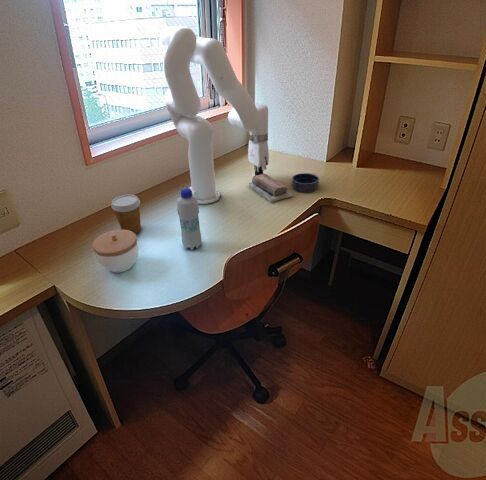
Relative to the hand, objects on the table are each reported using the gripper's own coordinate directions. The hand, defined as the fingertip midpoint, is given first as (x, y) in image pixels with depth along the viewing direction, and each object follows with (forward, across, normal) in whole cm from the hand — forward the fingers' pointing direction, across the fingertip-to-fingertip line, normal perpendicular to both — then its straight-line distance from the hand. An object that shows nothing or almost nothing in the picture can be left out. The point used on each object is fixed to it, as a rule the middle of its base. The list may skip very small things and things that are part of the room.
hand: (259, 178), depth 155 cm
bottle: (+1, +33, -43) cm, 54 cm away
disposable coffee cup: (+1, +14, -59) cm, 60 cm away
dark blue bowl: (+1, +15, +13) cm, 20 cm away
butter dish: (+1, +11, -1) cm, 11 cm away
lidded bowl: (+1, +33, -66) cm, 74 cm away
